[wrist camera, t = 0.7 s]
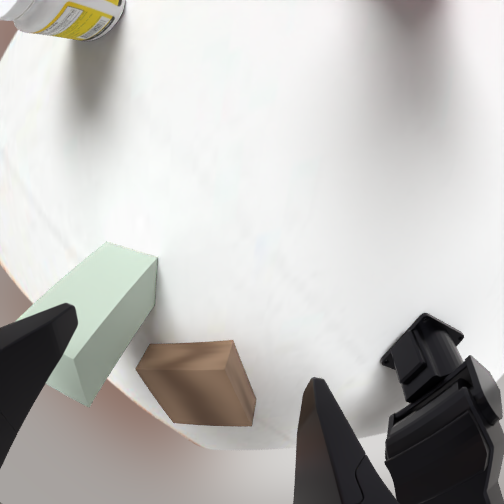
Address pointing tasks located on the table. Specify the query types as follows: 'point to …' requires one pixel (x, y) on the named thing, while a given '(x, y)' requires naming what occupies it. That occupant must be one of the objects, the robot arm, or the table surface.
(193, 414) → the walnut block
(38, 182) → the table surface
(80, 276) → the tall block
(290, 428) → the table surface
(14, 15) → the supplement bottle
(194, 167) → the table surface
